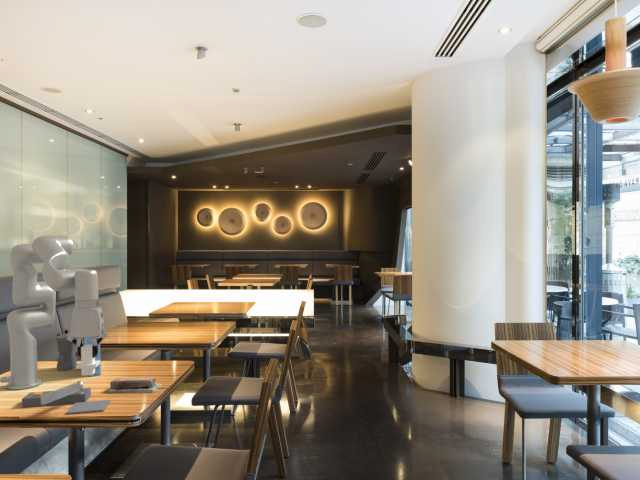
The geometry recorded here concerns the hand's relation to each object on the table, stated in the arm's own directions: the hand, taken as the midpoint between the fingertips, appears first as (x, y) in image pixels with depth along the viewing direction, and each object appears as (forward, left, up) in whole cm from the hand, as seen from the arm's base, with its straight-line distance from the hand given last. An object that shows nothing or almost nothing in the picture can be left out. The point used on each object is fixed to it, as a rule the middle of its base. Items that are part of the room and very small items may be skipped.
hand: (88, 356), depth 176 cm
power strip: (-14, +11, -18) cm, 25 cm away
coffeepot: (-26, +66, -18) cm, 73 cm away
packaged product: (+12, +20, -19) cm, 30 cm away
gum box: (-12, +55, -18) cm, 59 cm away
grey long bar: (-9, +1, -14) cm, 16 cm away
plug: (0, 0, -6) cm, 6 cm away
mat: (0, 0, -18) cm, 18 cm away
